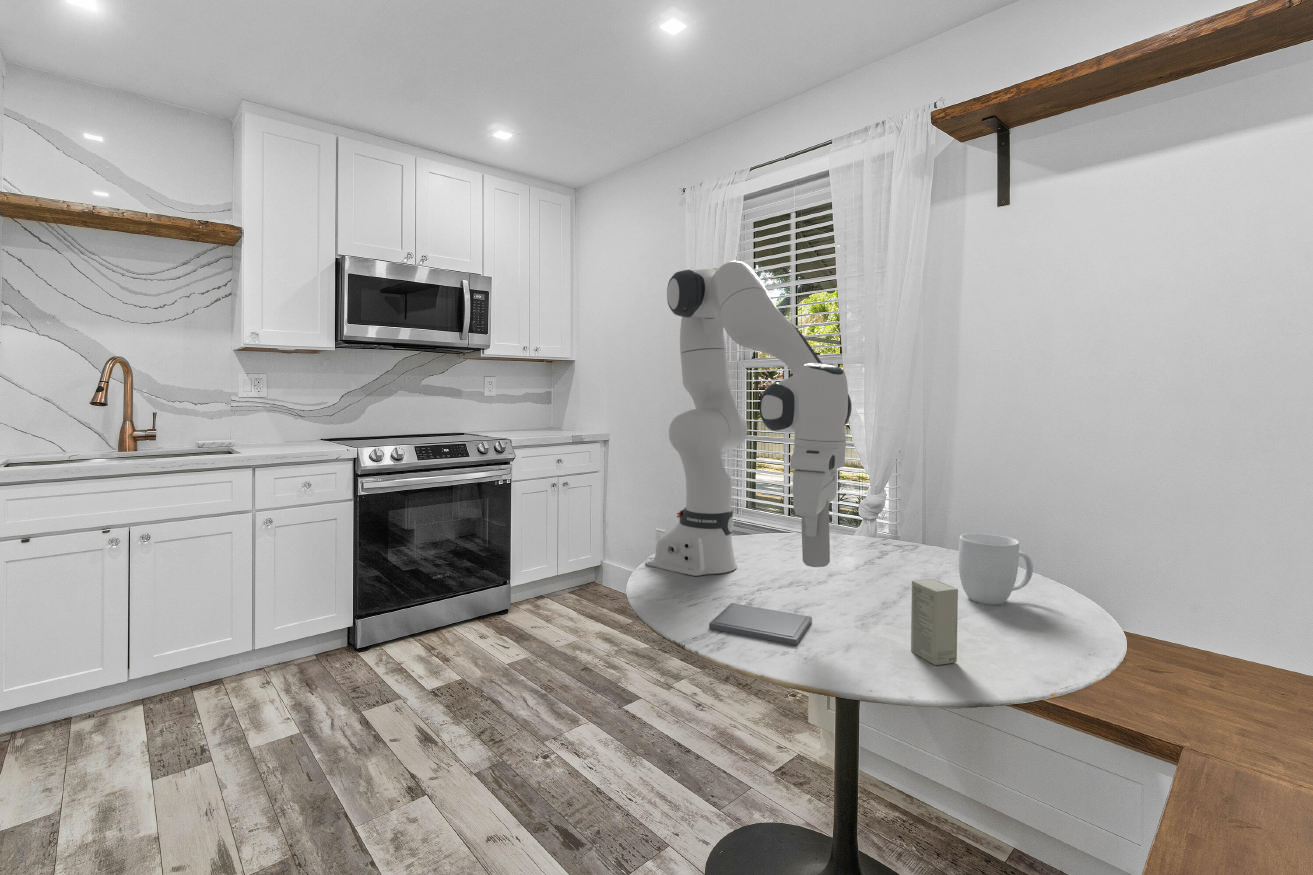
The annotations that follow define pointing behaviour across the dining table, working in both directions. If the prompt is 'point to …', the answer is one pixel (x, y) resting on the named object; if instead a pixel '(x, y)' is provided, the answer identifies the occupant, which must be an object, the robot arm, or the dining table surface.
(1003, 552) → the mug
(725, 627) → the slate coaster
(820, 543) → the beverage can
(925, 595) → the skincare box
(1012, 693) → the dining table surface
